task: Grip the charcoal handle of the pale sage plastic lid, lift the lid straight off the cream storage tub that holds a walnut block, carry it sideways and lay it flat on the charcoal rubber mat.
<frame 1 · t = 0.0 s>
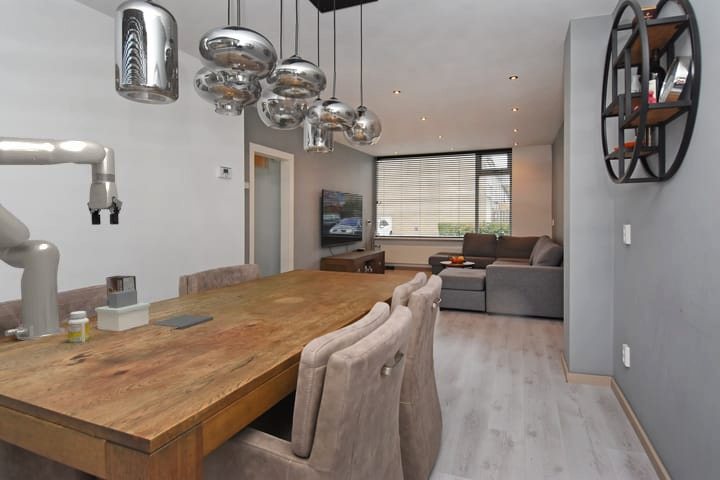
hand: (105, 224, 157), 37 cm above the table, tool pointing down, fingers open, 9 cm apart
coffee box: (122, 316, 164), on the table
supplement bottle: (79, 343, 127), on the table
sage lid: (123, 311, 144), point 6 cm above the table, touching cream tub
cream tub: (124, 328, 144), on the table
walnut block: (118, 327, 143), point 1 cm above the table, touching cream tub
charcoal mat: (183, 322, 152), on the table
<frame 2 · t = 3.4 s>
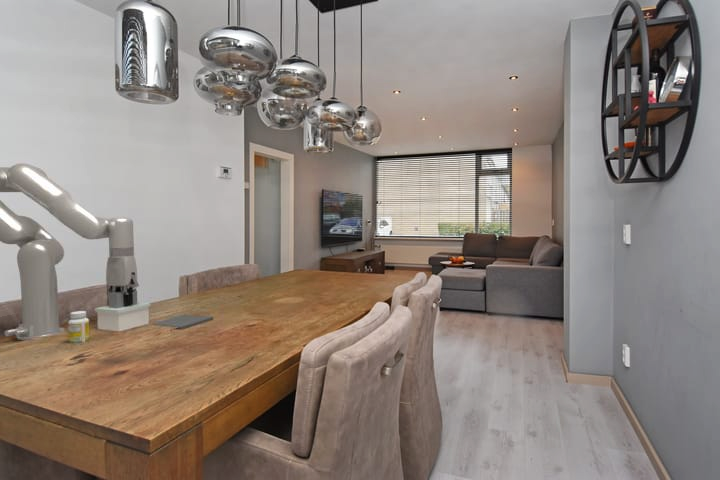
hand: (123, 304, 144), 9 cm above the table, tool pointing down, fingers closed on sage lid, 4 cm apart
sage lid: (123, 311, 144), point 6 cm above the table, touching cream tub, gripper
everything else where it was.
when the fingers open (5 cm above the table, at t = 9.8 s): sage lid drops 1 cm, resting on charcoal mat.
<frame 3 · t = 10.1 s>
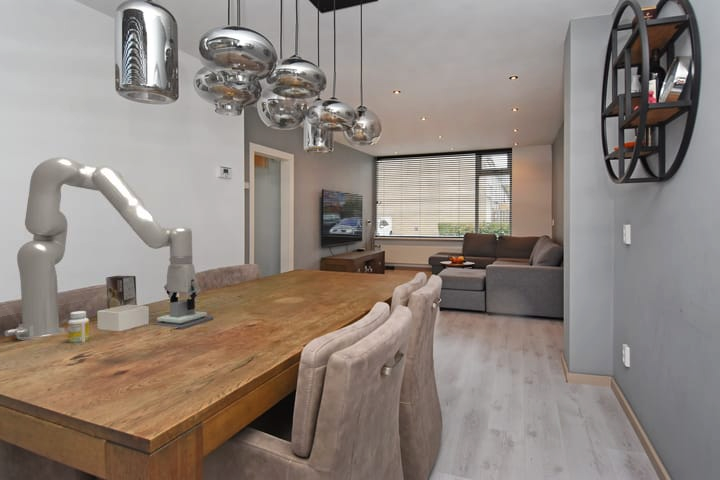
hand: (182, 308, 151), 5 cm above the table, tool pointing down, fingers open, 7 cm apart
sage lid: (182, 320, 152), point 1 cm above the table, touching charcoal mat
everything else where it was.
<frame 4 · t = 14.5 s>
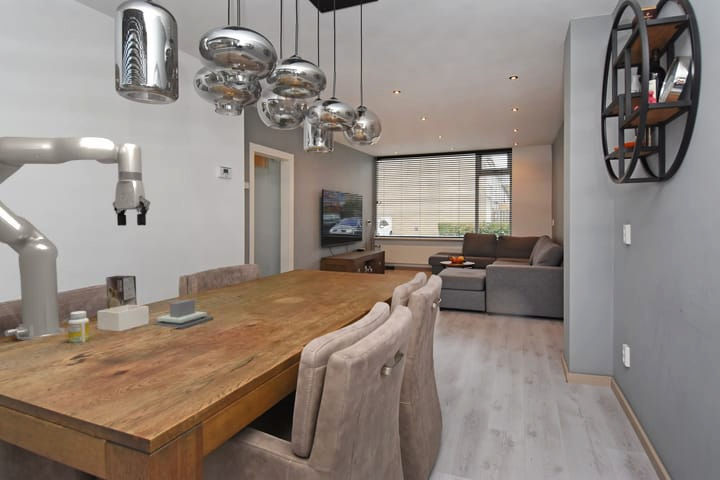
hand: (131, 225, 149), 36 cm above the table, tool pointing down, fingers open, 9 cm apart
nothing on the table moved.
at the end: sage lid inside the target area on the charcoal mat (0.0 cm from its centre), point 1.0 cm above the charcoal mat's base; sage lid tilted 0°; the gripper is holding nothing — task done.
